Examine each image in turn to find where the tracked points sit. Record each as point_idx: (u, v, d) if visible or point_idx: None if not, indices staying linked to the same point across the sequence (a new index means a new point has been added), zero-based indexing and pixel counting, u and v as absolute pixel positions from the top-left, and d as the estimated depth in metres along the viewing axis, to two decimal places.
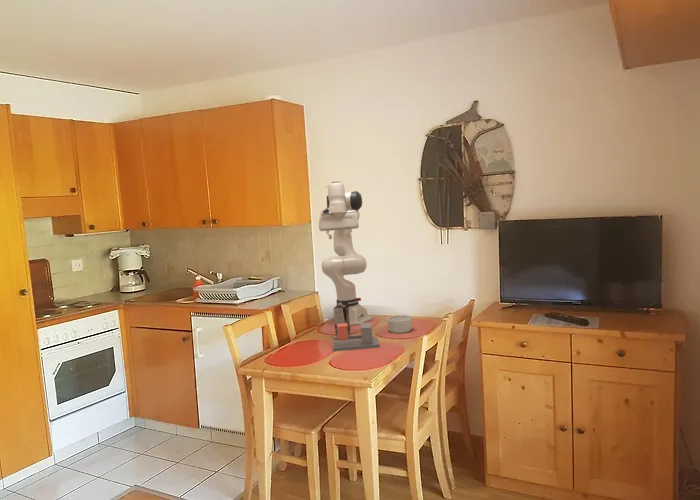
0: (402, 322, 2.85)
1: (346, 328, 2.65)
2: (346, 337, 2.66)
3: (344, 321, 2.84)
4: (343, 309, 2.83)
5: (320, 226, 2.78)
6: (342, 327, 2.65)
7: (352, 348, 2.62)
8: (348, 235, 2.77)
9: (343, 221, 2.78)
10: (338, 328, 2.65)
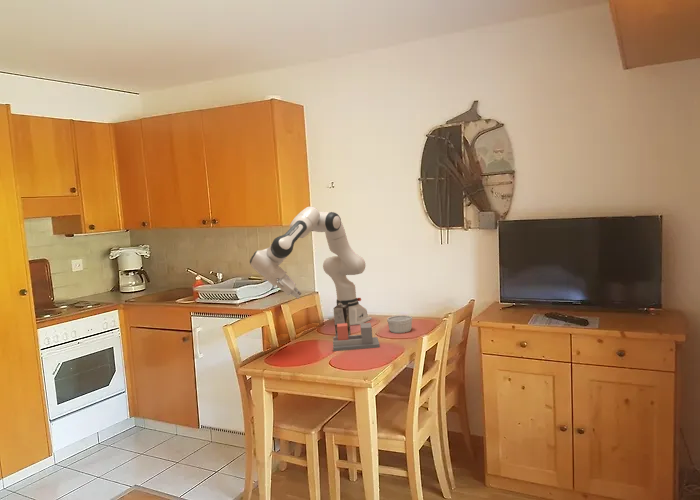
0: (402, 322, 2.85)
1: (346, 328, 2.65)
2: (346, 337, 2.66)
3: (344, 321, 2.84)
4: (343, 309, 2.83)
5: None
6: (342, 327, 2.65)
7: (352, 348, 2.62)
8: (297, 298, 2.62)
9: None
10: (338, 328, 2.65)
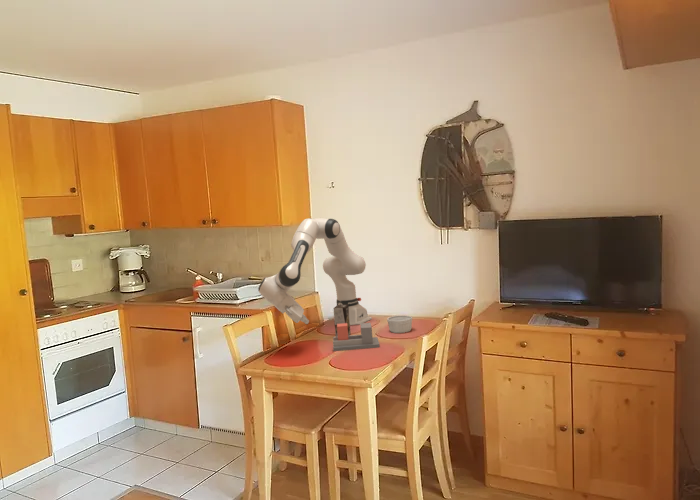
0: (402, 322, 2.85)
1: (346, 328, 2.65)
2: (346, 337, 2.66)
3: (344, 321, 2.84)
4: (343, 309, 2.83)
5: None
6: (342, 327, 2.65)
7: (352, 348, 2.62)
8: None
9: None
10: (338, 328, 2.65)
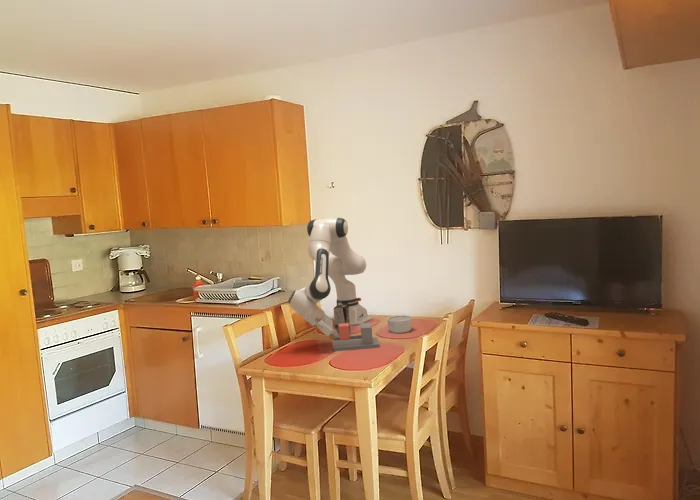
0: (402, 322, 2.85)
1: (348, 328, 2.65)
2: (348, 337, 2.66)
3: (344, 321, 2.84)
4: (343, 309, 2.83)
5: None
6: (344, 327, 2.65)
7: (352, 348, 2.62)
8: (335, 335, 2.68)
9: None
10: (340, 328, 2.65)
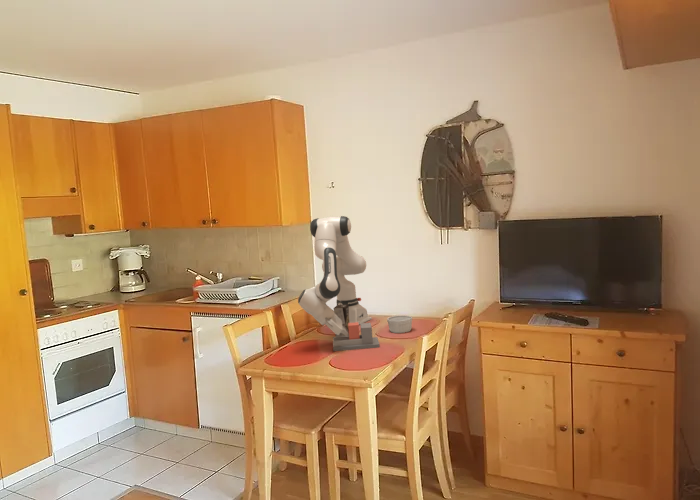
0: (402, 322, 2.85)
1: (357, 327, 2.66)
2: (357, 336, 2.66)
3: (344, 321, 2.84)
4: (343, 309, 2.83)
5: None
6: (353, 326, 2.65)
7: (352, 348, 2.62)
8: (345, 335, 2.68)
9: None
10: (349, 327, 2.65)
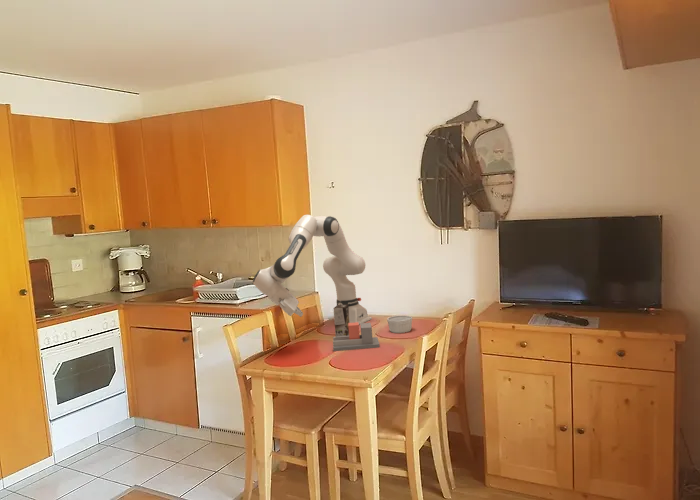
0: (402, 322, 2.85)
1: (357, 327, 2.66)
2: (357, 336, 2.66)
3: (344, 321, 2.84)
4: (343, 309, 2.83)
5: None
6: (353, 326, 2.65)
7: (352, 348, 2.62)
8: (299, 315, 2.68)
9: None
10: (349, 327, 2.65)
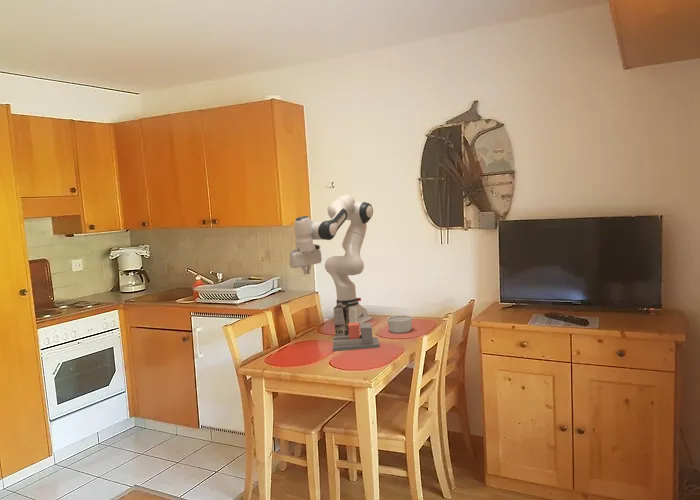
0: (402, 322, 2.85)
1: (357, 327, 2.66)
2: (357, 336, 2.66)
3: (344, 321, 2.84)
4: (343, 309, 2.83)
5: None
6: (353, 326, 2.65)
7: (352, 348, 2.62)
8: None
9: None
10: (349, 327, 2.65)
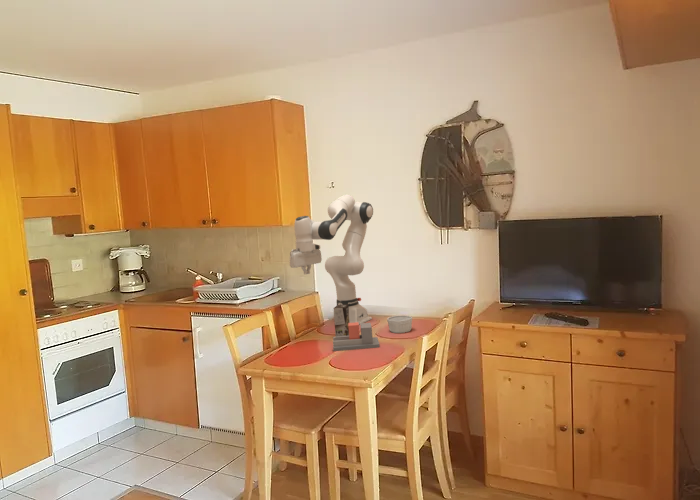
0: (402, 322, 2.85)
1: (357, 327, 2.66)
2: (357, 336, 2.66)
3: (344, 321, 2.84)
4: (343, 309, 2.83)
5: None
6: (353, 326, 2.65)
7: (352, 348, 2.62)
8: None
9: None
10: (349, 327, 2.65)
